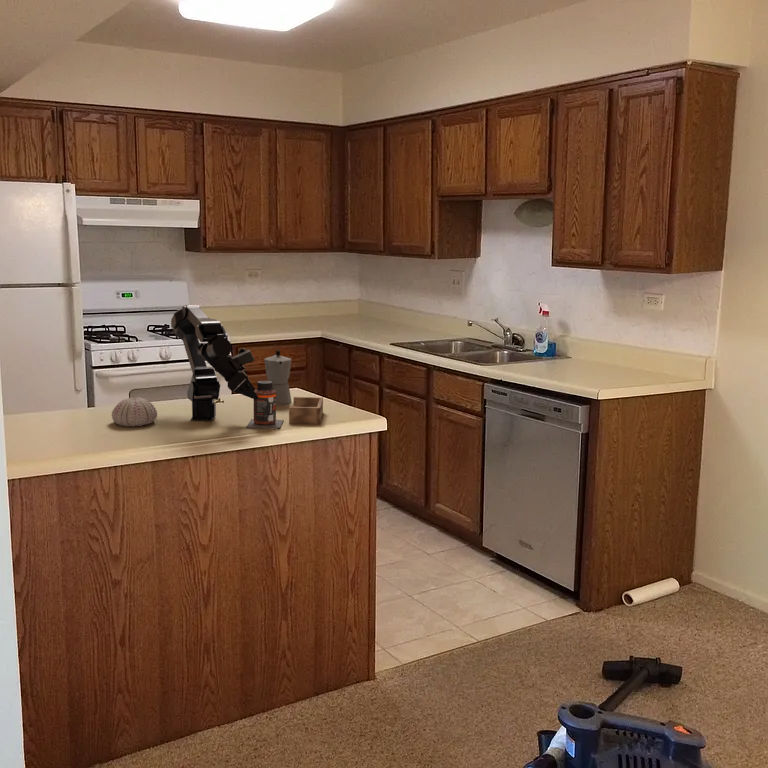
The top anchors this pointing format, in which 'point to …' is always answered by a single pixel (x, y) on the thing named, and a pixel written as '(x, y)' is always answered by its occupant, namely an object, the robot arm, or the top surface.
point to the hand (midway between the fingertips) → (256, 395)
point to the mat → (253, 425)
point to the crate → (306, 410)
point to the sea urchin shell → (134, 412)
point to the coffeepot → (279, 376)
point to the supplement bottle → (265, 404)
